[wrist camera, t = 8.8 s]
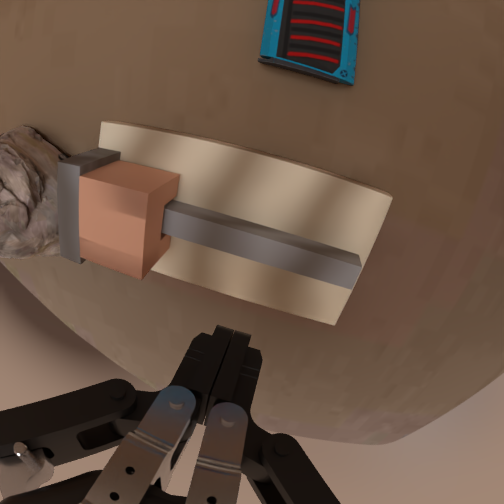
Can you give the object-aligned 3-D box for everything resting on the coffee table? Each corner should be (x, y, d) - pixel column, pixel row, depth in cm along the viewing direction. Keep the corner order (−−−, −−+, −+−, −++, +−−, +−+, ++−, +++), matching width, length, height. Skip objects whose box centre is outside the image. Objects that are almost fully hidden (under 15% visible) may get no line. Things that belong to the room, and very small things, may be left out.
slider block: (179, 174, 20) (148, 193, 16) (169, 248, 23) (141, 280, 19) (118, 160, 20) (79, 175, 16) (113, 230, 23) (80, 257, 19)
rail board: (388, 192, 20) (414, 224, 14) (333, 316, 25) (336, 369, 20) (110, 120, 20) (58, 130, 15) (102, 244, 26) (62, 277, 20)
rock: (126, 182, 23) (38, 233, 14) (85, 279, 28) (25, 340, 19) (21, 103, 21) (-61, 123, 12) (-1, 200, 26) (-65, 236, 17)
